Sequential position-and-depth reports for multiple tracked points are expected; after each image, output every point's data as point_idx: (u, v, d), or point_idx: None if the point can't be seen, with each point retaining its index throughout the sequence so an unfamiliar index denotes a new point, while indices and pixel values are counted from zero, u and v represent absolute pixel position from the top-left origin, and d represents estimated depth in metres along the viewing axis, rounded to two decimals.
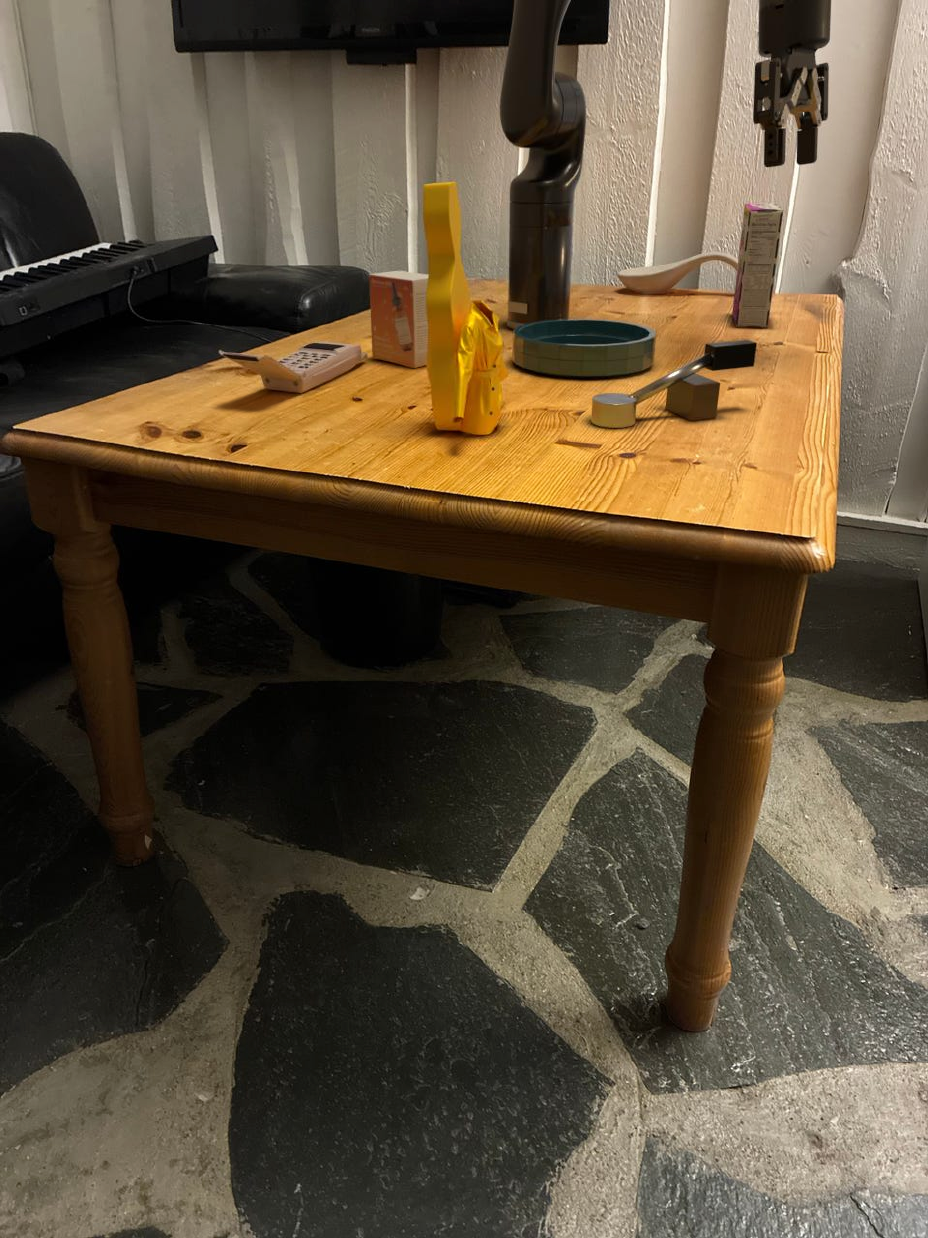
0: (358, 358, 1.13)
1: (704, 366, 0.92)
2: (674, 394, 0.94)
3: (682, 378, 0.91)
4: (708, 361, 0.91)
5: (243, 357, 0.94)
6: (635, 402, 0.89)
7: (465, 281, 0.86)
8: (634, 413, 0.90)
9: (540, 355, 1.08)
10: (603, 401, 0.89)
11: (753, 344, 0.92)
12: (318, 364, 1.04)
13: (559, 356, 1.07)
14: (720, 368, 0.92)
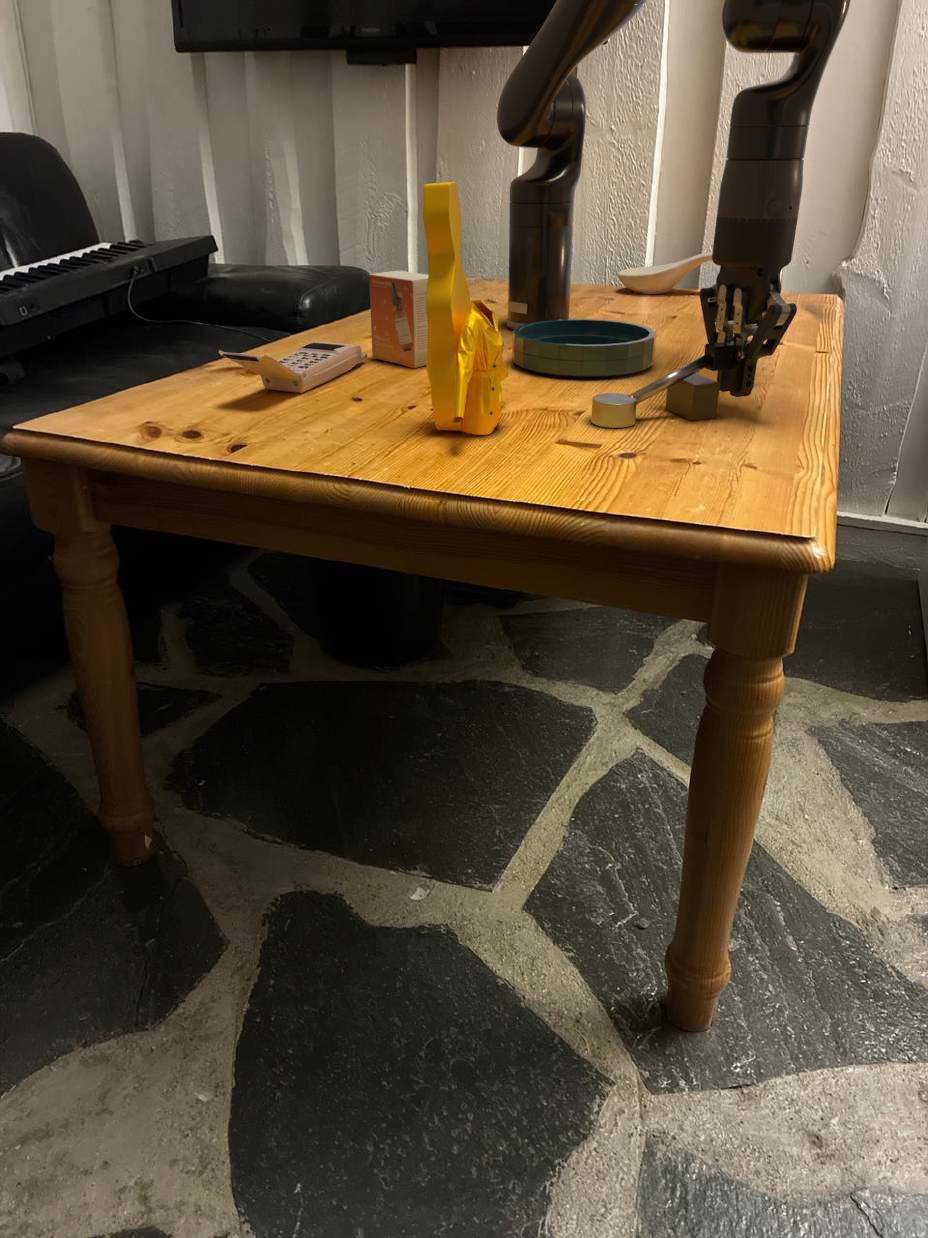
0: (358, 358, 1.13)
1: (704, 366, 0.92)
2: (674, 394, 0.94)
3: (682, 378, 0.91)
4: (708, 361, 0.91)
5: (243, 357, 0.94)
6: (635, 402, 0.89)
7: (465, 281, 0.86)
8: (634, 413, 0.90)
9: (540, 355, 1.08)
10: (603, 401, 0.89)
11: None
12: (318, 364, 1.04)
13: (559, 356, 1.07)
14: (720, 368, 0.92)
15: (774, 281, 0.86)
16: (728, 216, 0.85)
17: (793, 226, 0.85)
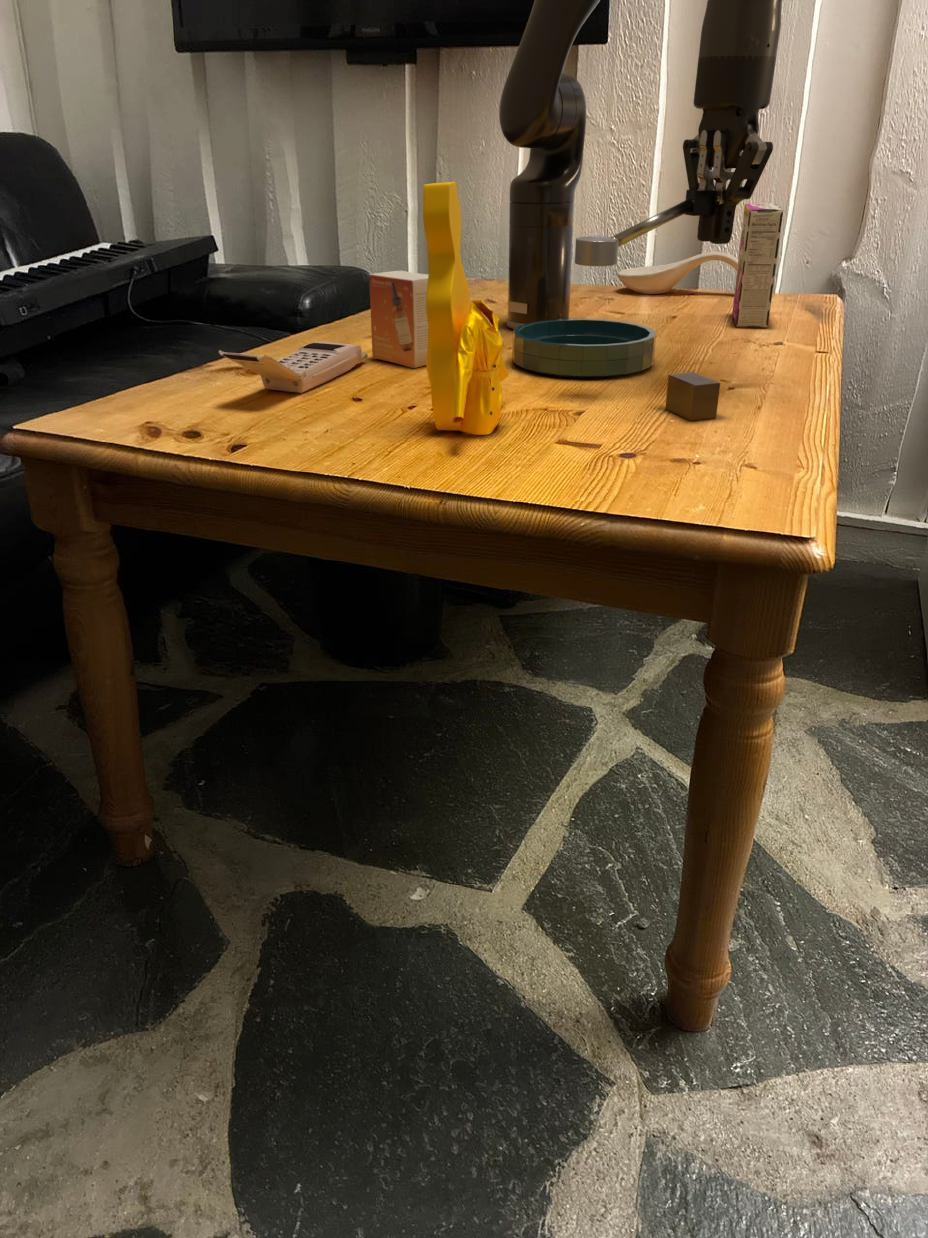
0: (358, 358, 1.13)
1: (685, 211, 0.95)
2: (674, 394, 0.94)
3: (663, 222, 0.95)
4: (689, 206, 0.95)
5: (243, 357, 0.94)
6: (617, 241, 0.93)
7: (465, 281, 0.86)
8: (616, 253, 0.93)
9: (540, 355, 1.08)
10: (586, 240, 0.93)
11: None
12: (318, 364, 1.04)
13: (559, 356, 1.07)
14: (700, 213, 0.95)
15: (752, 121, 0.90)
16: (708, 55, 0.88)
17: (771, 65, 0.88)
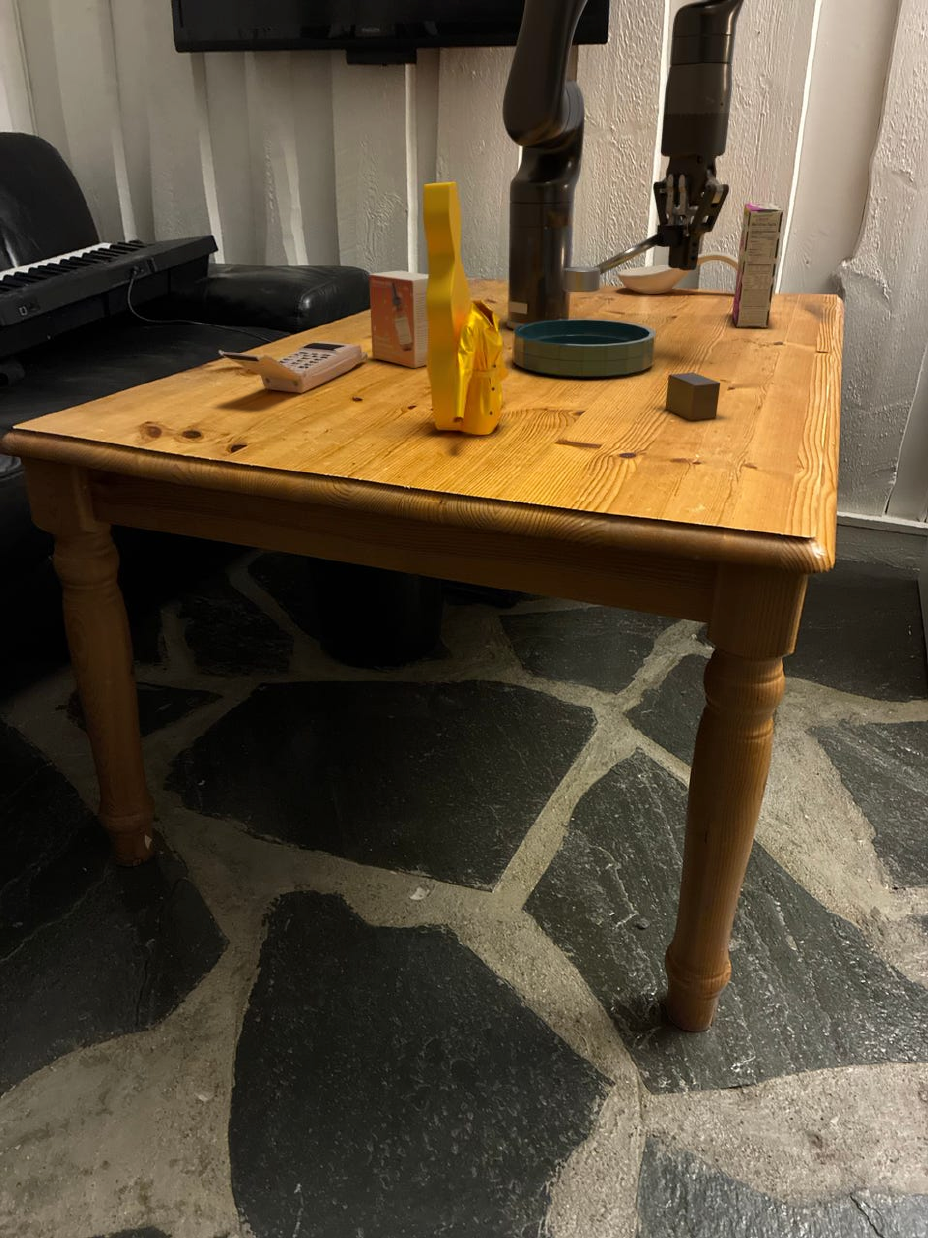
0: (358, 358, 1.13)
1: (656, 243, 1.10)
2: (674, 394, 0.94)
3: (638, 252, 1.10)
4: (659, 238, 1.10)
5: (243, 357, 0.94)
6: (599, 270, 1.08)
7: (465, 281, 0.86)
8: (598, 280, 1.09)
9: (540, 355, 1.08)
10: (572, 270, 1.08)
11: None
12: (318, 364, 1.04)
13: (559, 356, 1.07)
14: (670, 244, 1.11)
15: (710, 167, 1.05)
16: (672, 112, 1.04)
17: (725, 120, 1.04)
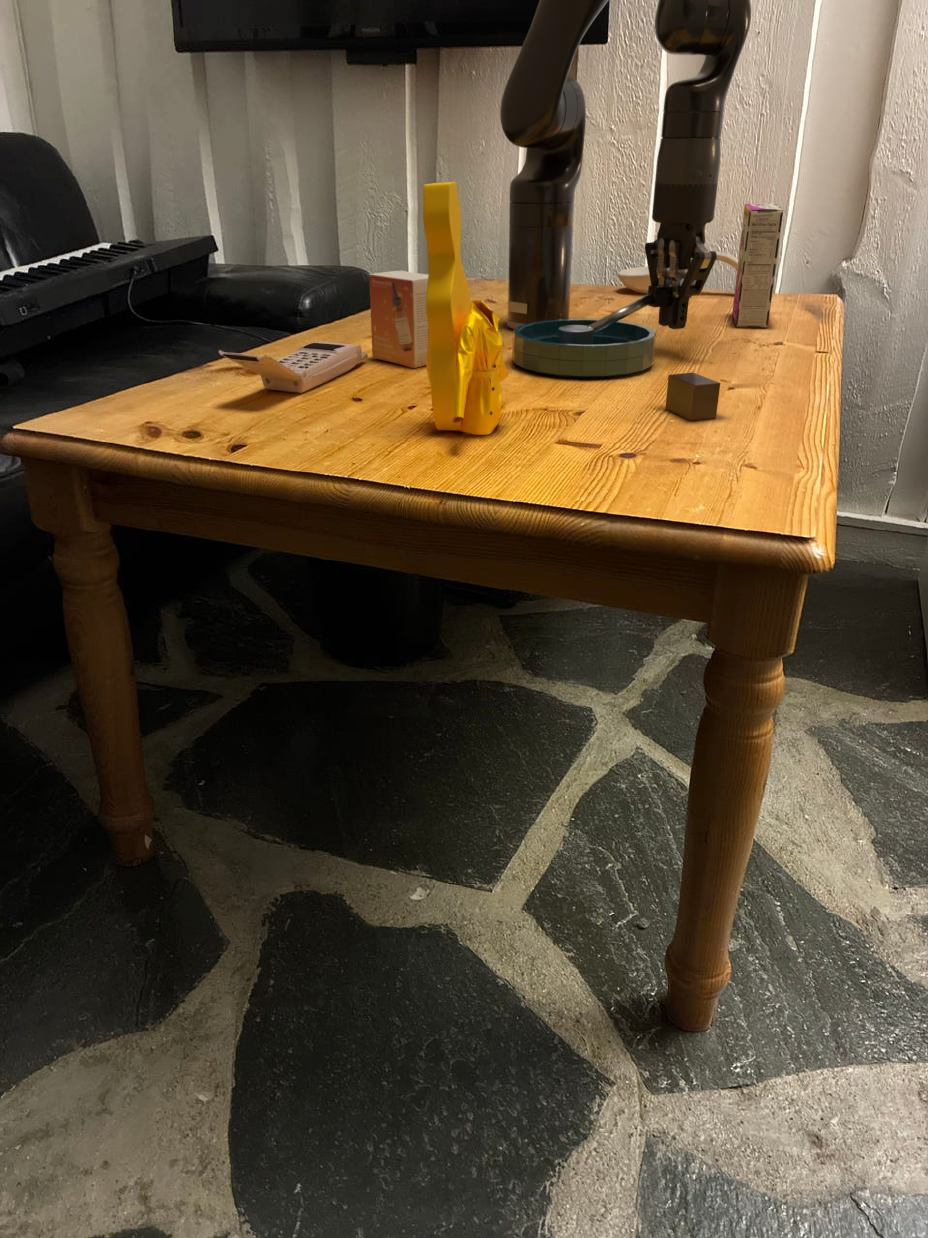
0: (358, 358, 1.13)
1: (647, 303, 1.15)
2: (674, 394, 0.94)
3: (630, 312, 1.15)
4: (650, 299, 1.15)
5: (243, 357, 0.94)
6: (592, 330, 1.13)
7: (465, 281, 0.86)
8: (591, 339, 1.14)
9: (540, 355, 1.08)
10: (567, 330, 1.13)
11: None
12: (318, 364, 1.04)
13: (559, 356, 1.07)
14: (660, 305, 1.16)
15: (699, 234, 1.10)
16: (662, 182, 1.09)
17: (713, 190, 1.09)
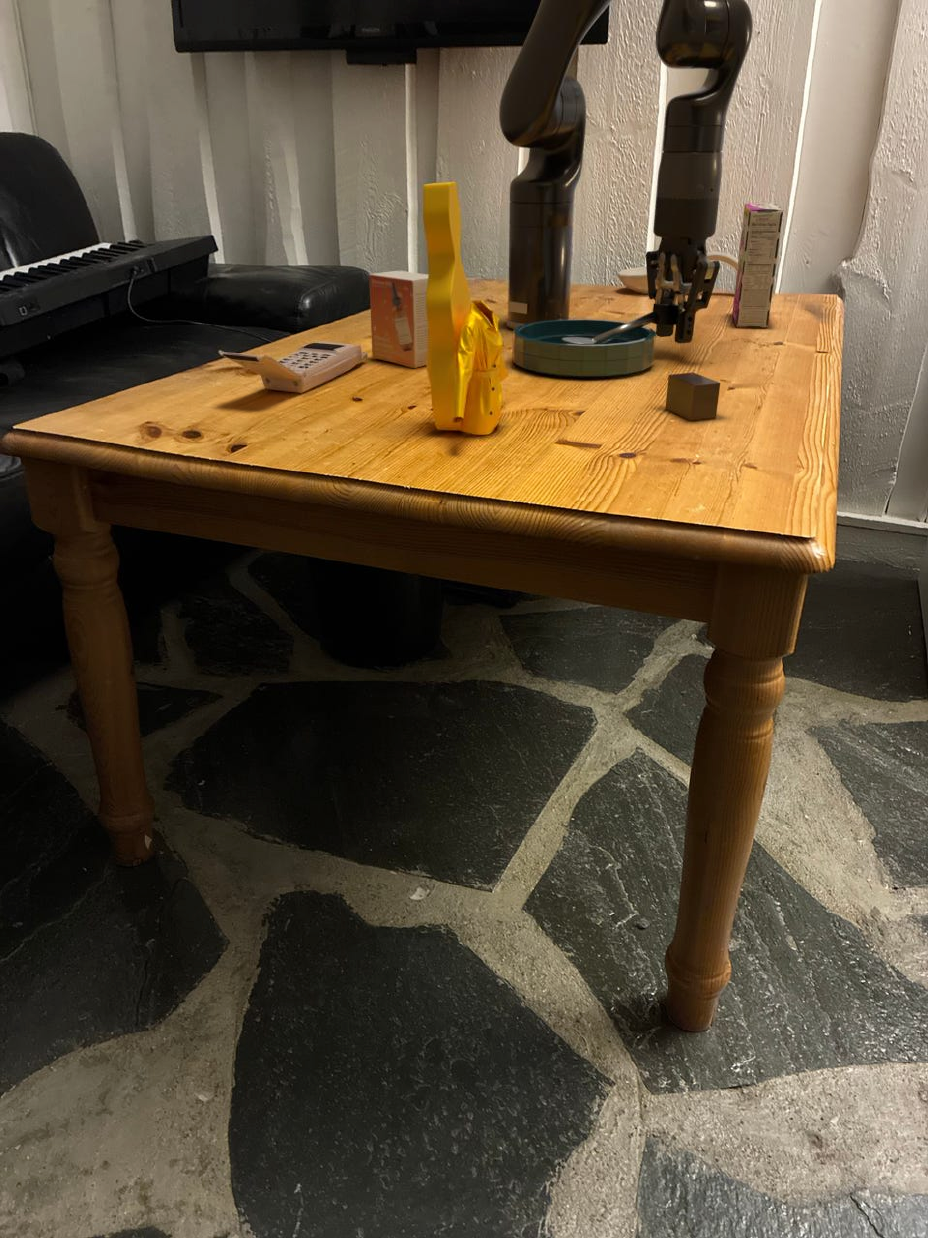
0: (358, 358, 1.13)
1: (651, 320, 1.15)
2: (674, 394, 0.94)
3: (634, 328, 1.15)
4: (655, 316, 1.15)
5: (243, 357, 0.94)
6: (595, 343, 1.12)
7: (465, 281, 0.86)
8: None
9: (540, 355, 1.08)
10: (570, 340, 1.12)
11: None
12: (318, 364, 1.04)
13: (559, 356, 1.07)
14: (664, 323, 1.15)
15: (700, 247, 1.10)
16: (664, 196, 1.08)
17: (715, 204, 1.08)
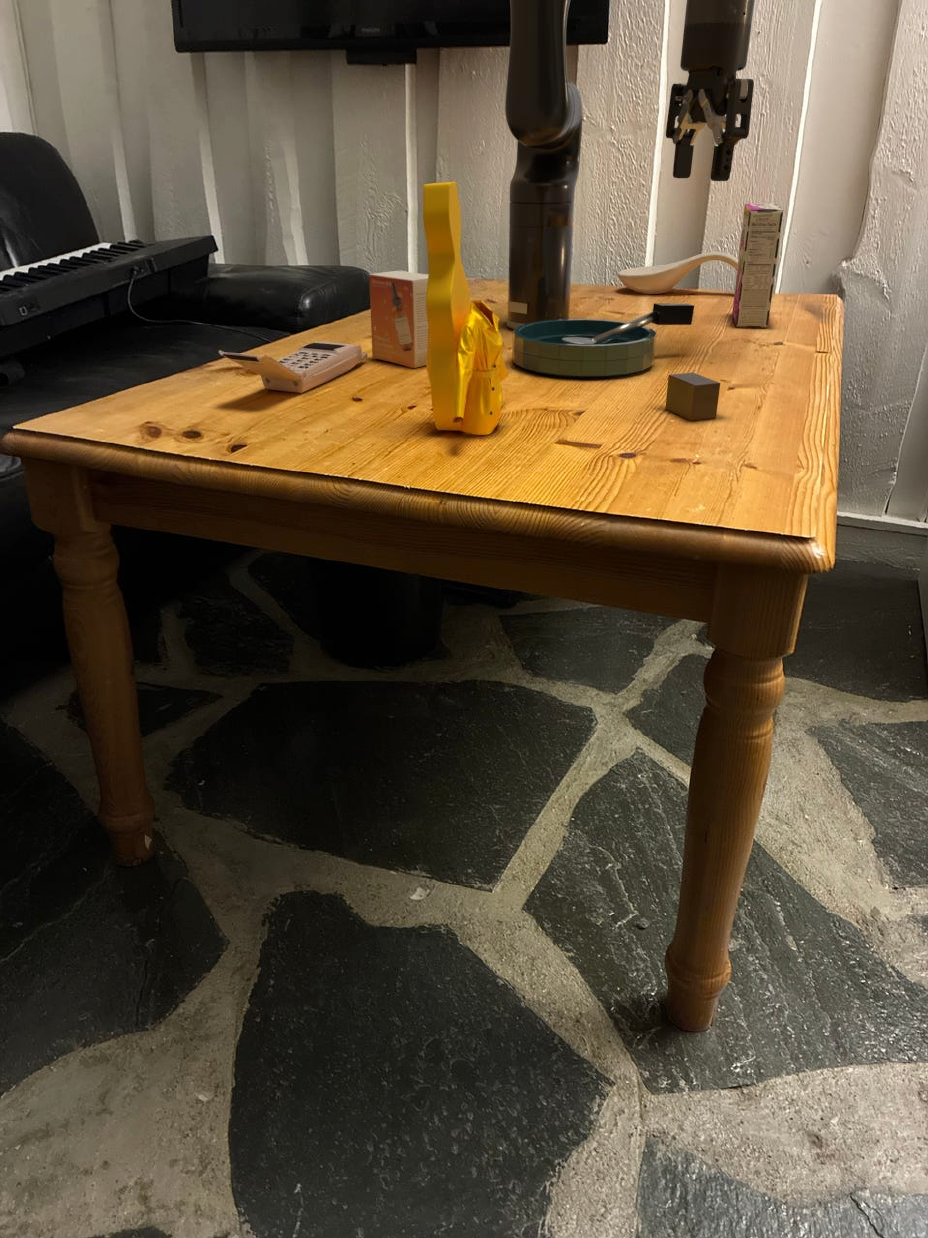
0: (358, 358, 1.13)
1: (651, 320, 1.15)
2: (674, 394, 0.94)
3: (634, 328, 1.15)
4: (655, 316, 1.15)
5: (243, 357, 0.94)
6: (595, 343, 1.12)
7: (465, 281, 0.86)
8: None
9: (540, 355, 1.08)
10: (570, 340, 1.12)
11: (691, 306, 1.16)
12: (318, 364, 1.04)
13: (559, 356, 1.07)
14: (664, 323, 1.15)
15: None
16: (693, 22, 1.02)
17: (747, 31, 1.02)
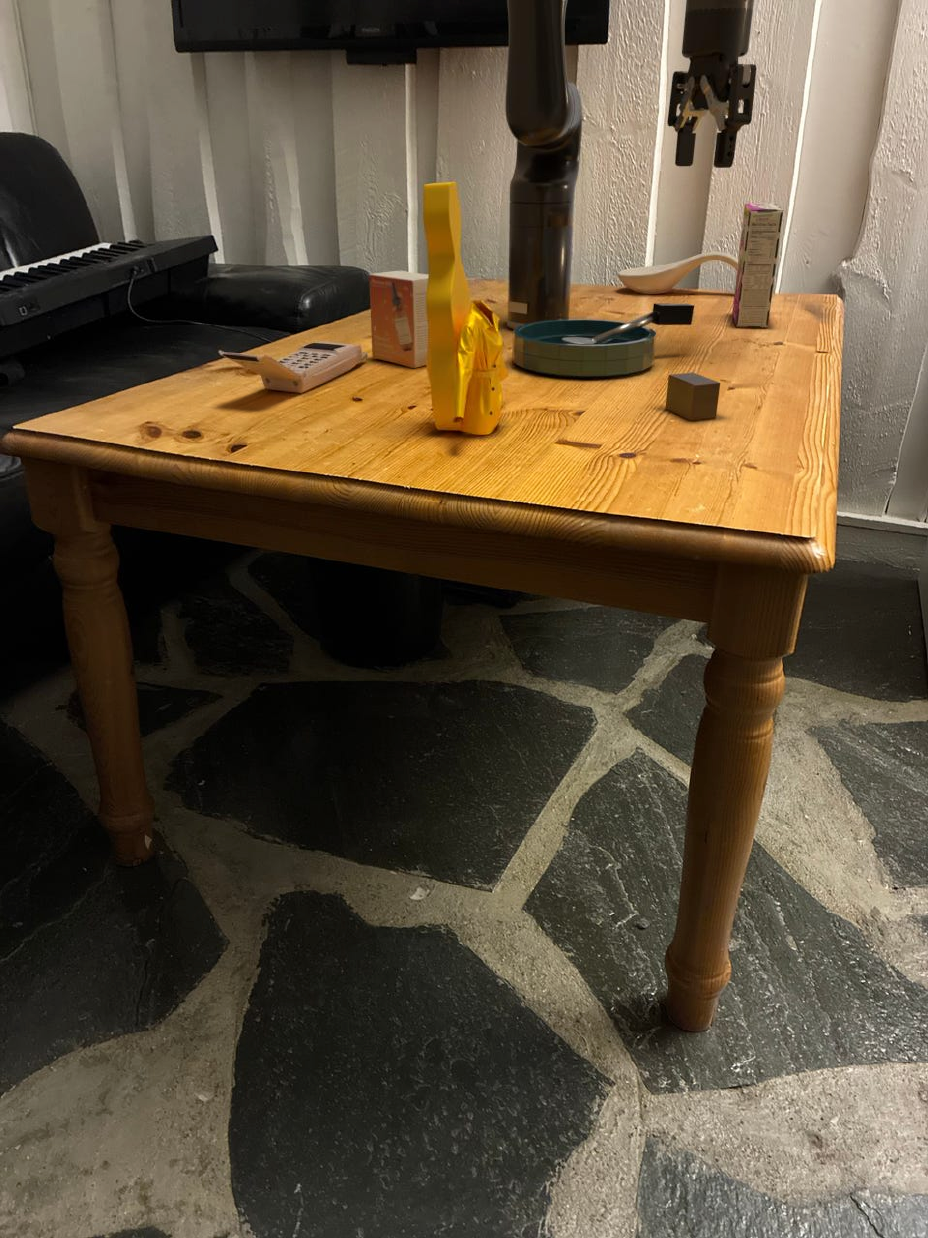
0: (358, 358, 1.13)
1: (651, 320, 1.15)
2: (674, 394, 0.94)
3: (634, 328, 1.15)
4: (655, 316, 1.15)
5: (243, 357, 0.94)
6: (595, 343, 1.12)
7: (465, 281, 0.86)
8: None
9: (540, 355, 1.08)
10: (570, 340, 1.12)
11: (691, 306, 1.16)
12: (318, 364, 1.04)
13: (559, 356, 1.07)
14: (664, 323, 1.15)
15: None
16: (694, 8, 1.02)
17: (748, 16, 1.02)
